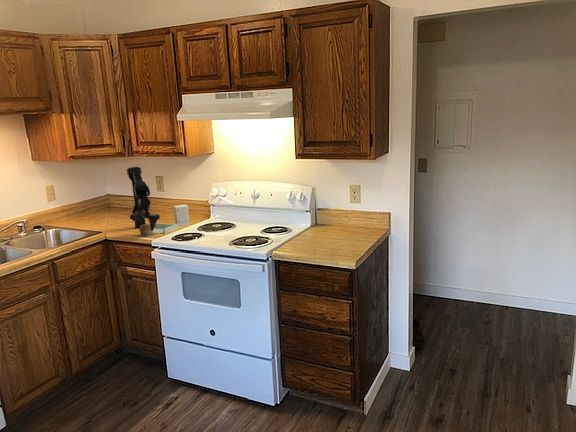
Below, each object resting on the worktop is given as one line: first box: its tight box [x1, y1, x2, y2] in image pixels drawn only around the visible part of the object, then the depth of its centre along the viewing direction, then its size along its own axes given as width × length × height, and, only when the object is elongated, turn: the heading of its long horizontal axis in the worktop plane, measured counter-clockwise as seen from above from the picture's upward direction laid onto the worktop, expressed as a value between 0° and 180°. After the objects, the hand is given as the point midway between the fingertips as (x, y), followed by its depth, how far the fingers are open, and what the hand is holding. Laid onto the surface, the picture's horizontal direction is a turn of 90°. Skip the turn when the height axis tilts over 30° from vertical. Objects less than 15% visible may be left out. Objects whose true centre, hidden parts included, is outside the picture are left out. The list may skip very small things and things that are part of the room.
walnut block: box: [139, 223, 153, 236], centre depth 284 cm, size 5×5×6 cm
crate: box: [153, 222, 179, 234], centre depth 295 cm, size 18×12×3 cm, turn 64°
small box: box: [173, 204, 191, 228], centre depth 306 cm, size 8×6×13 cm
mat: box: [136, 233, 159, 238], centre depth 285 cm, size 10×9×1 cm
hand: (146, 230), depth 285 cm, fingers open, 9 cm apart
